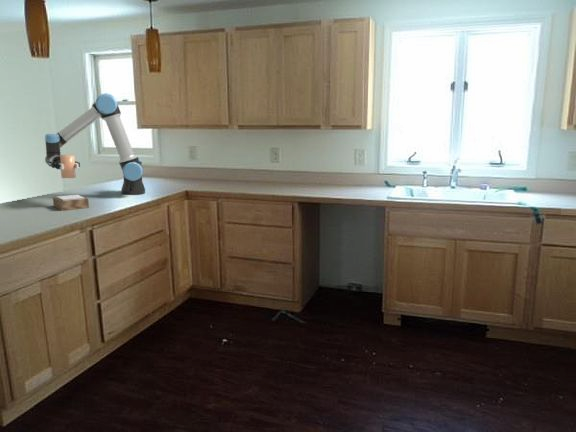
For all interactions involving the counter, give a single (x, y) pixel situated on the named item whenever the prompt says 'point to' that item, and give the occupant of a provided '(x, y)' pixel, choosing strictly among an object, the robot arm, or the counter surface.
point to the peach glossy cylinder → (68, 166)
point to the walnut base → (70, 202)
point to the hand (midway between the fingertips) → (70, 166)
